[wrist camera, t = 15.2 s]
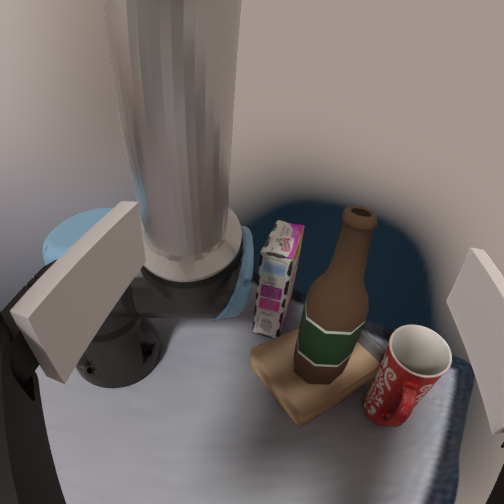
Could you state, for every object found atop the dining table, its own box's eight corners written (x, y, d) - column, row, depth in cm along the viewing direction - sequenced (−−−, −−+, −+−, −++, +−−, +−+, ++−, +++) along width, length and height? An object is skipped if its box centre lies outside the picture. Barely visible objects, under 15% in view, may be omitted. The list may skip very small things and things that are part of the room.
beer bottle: (302, 338, 47) (333, 189, 34) (349, 355, 44) (400, 208, 31) (281, 375, 41) (313, 214, 28) (334, 395, 39) (396, 239, 26)
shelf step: (249, 364, 47) (251, 339, 44) (327, 328, 55) (334, 303, 51) (298, 427, 38) (307, 406, 35) (376, 376, 46) (389, 352, 42)
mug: (366, 375, 46) (396, 315, 39) (415, 393, 42) (453, 336, 35) (339, 439, 36) (374, 386, 29) (397, 459, 33) (446, 411, 26)
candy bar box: (280, 340, 52) (293, 259, 43) (251, 333, 53) (258, 252, 44) (292, 299, 61) (305, 224, 52) (267, 293, 62) (276, 218, 53)
